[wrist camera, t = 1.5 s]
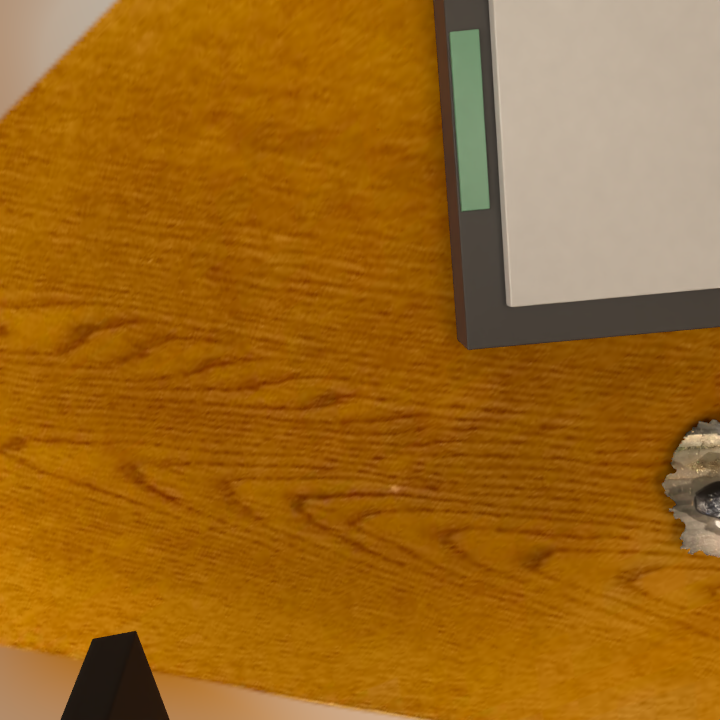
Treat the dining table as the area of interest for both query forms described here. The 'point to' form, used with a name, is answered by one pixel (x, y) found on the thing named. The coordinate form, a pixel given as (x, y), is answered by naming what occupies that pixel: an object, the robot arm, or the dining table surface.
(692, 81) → the scale
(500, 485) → the dining table surface
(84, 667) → the robot arm
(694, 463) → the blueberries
